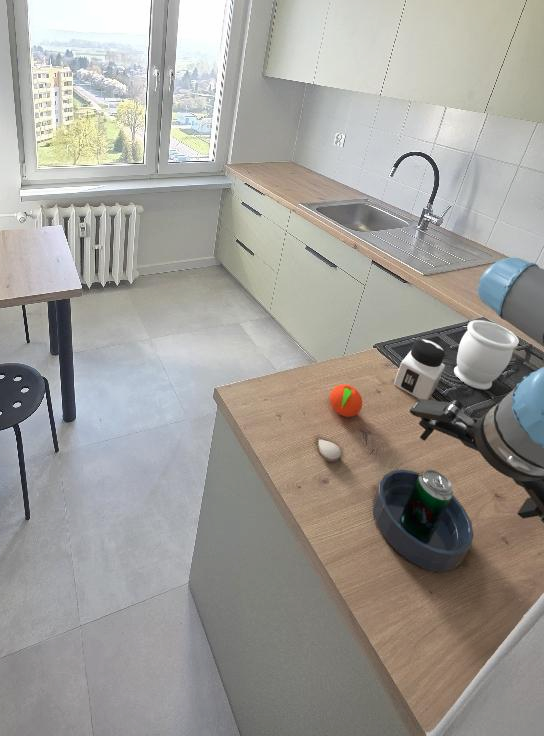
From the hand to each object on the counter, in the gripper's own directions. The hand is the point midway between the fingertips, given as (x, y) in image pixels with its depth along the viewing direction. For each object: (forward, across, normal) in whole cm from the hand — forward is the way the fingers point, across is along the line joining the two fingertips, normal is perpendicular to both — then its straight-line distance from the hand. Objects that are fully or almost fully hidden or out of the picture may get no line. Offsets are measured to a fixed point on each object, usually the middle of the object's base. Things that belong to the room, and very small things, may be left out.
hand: (472, 468), depth 63 cm
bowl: (+19, 0, -10) cm, 21 cm away
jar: (+48, -6, +34) cm, 59 cm away
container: (+40, -14, +20) cm, 47 cm away
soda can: (+18, 0, -10) cm, 21 cm away
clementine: (+29, -21, 0) cm, 36 cm away
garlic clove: (+22, -18, -11) cm, 30 cm away
